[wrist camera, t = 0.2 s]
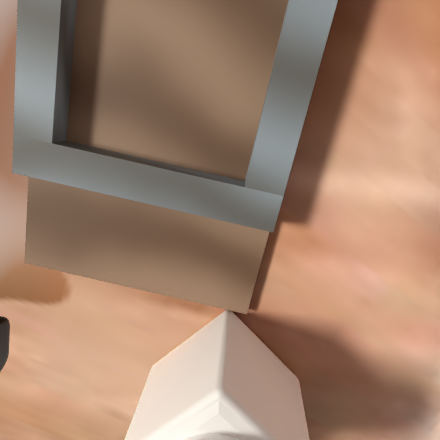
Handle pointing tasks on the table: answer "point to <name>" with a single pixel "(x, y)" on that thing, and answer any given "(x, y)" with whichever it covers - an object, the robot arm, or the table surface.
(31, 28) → the brown panel with frame
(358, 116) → the table surface
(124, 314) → the table surface
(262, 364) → the medicine bottle
